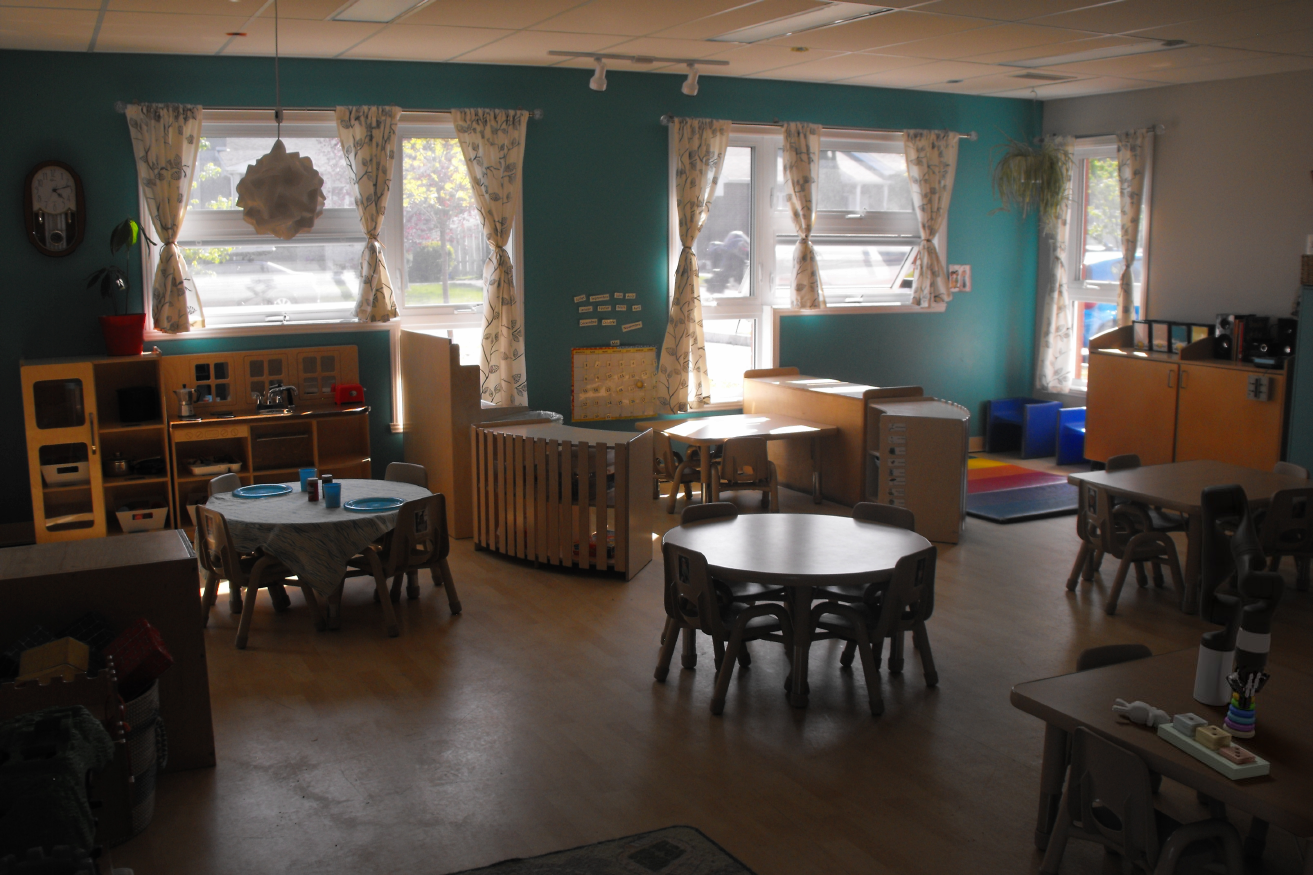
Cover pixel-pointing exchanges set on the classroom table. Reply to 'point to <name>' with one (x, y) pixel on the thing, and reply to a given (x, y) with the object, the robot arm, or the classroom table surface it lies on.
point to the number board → (1213, 755)
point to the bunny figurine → (1142, 713)
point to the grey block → (1188, 724)
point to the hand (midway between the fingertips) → (1243, 708)
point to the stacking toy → (1240, 719)
